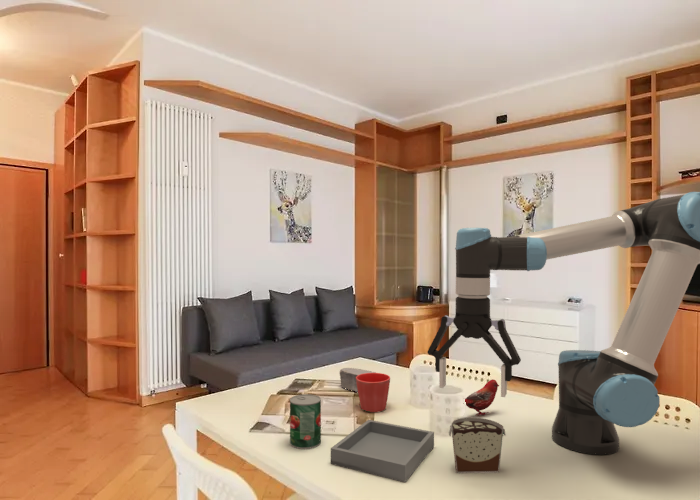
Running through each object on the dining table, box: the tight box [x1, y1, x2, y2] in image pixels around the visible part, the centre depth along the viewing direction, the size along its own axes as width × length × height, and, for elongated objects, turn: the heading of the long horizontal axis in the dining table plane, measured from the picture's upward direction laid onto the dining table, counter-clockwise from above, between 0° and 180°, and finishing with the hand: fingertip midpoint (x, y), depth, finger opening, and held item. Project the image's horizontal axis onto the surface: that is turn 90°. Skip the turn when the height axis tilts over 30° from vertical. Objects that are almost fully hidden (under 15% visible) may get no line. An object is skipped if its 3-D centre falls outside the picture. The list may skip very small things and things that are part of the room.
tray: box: [330, 419, 435, 483], centre depth 107 cm, size 18×20×4 cm
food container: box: [448, 416, 507, 474], centre depth 101 cm, size 12×6×10 cm, turn 92°
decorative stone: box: [339, 367, 377, 393], centre depth 158 cm, size 15×7×10 cm
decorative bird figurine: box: [464, 379, 500, 416], centre depth 132 cm, size 3×18×10 cm, turn 115°
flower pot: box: [356, 372, 391, 413], centre depth 139 cm, size 11×11×10 cm
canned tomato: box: [289, 393, 322, 450], centre depth 114 cm, size 8×8×11 cm
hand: (472, 390), depth 101 cm, fingers open, 13 cm apart
